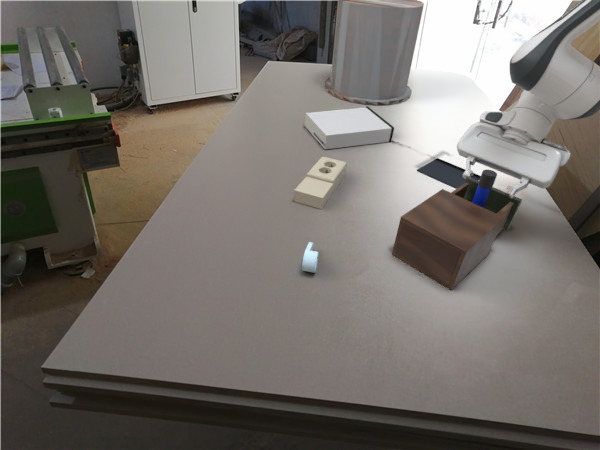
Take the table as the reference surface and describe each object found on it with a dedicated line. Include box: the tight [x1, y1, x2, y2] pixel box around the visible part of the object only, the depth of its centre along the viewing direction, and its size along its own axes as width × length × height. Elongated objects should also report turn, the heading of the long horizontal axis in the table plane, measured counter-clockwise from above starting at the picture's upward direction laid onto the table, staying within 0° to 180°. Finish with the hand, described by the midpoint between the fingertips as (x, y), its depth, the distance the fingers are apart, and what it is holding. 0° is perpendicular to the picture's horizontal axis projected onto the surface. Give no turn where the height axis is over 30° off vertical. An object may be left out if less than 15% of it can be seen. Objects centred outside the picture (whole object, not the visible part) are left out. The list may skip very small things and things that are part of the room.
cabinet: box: [391, 188, 504, 291], centre depth 81 cm, size 16×14×10 cm
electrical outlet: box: [293, 156, 348, 210], centre depth 101 cm, size 7×4×18 cm
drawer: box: [450, 178, 523, 235], centre depth 89 cm, size 19×12×8 cm, turn 134°
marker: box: [472, 169, 498, 208], centre depth 86 cm, size 3×3×13 cm
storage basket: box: [324, 0, 425, 106], centre depth 155 cm, size 35×35×32 cm
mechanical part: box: [301, 241, 319, 274], centre depth 79 cm, size 8×2×4 cm, turn 169°
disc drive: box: [304, 105, 395, 150], centre depth 128 cm, size 18×22×5 cm
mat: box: [416, 157, 481, 190], centre depth 112 cm, size 14×14×1 cm
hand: (486, 187), depth 85 cm, fingers open, 8 cm apart
